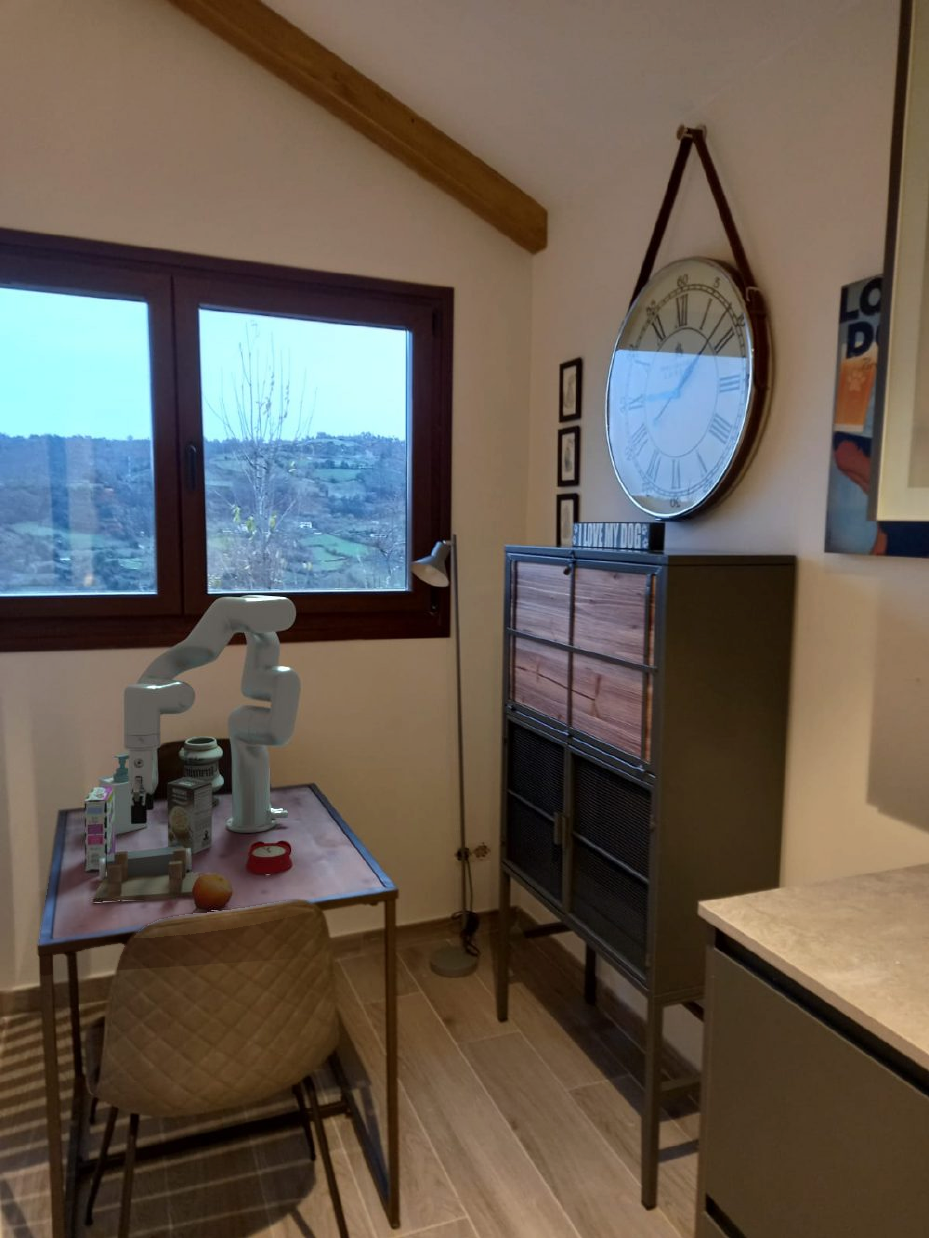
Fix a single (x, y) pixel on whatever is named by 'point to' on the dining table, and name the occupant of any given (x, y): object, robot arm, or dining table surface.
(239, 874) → the dining table surface
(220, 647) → the robot arm
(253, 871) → the alarm clock
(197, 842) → the coffee box
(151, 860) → the power strip
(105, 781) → the soap bottle
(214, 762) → the apothecary jar
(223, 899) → the fruit
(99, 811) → the candy bar box
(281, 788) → the dining table surface
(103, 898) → the rack
